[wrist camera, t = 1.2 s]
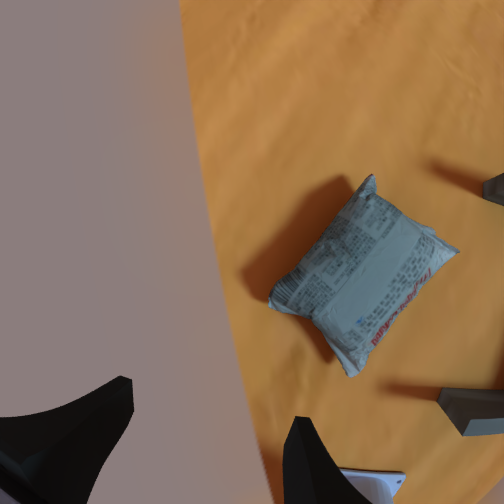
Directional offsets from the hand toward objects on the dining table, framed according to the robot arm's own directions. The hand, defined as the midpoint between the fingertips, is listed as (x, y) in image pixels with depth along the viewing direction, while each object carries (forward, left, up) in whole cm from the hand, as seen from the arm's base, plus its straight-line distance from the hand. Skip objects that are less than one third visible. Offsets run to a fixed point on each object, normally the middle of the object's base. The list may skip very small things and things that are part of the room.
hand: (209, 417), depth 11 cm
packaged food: (+7, -7, -12) cm, 15 cm away
